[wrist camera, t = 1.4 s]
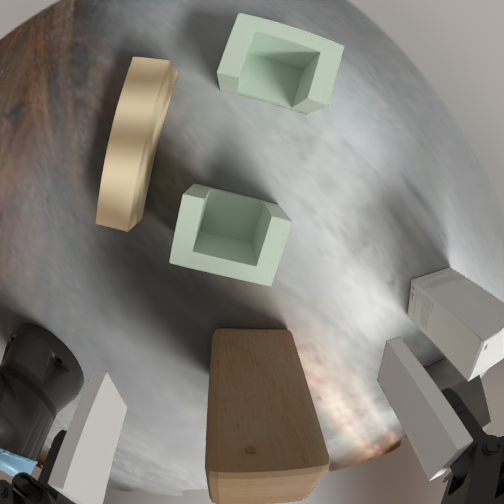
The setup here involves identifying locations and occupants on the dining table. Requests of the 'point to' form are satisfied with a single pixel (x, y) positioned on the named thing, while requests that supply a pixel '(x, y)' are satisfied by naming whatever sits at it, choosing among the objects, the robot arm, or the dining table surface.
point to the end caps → (239, 206)
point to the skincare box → (459, 320)
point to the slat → (134, 142)
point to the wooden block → (260, 420)
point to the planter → (462, 389)
